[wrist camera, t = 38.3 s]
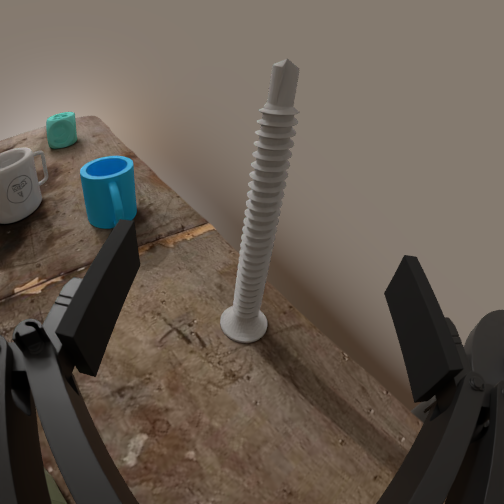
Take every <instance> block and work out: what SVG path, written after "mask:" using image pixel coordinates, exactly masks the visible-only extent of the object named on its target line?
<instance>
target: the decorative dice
mask: <svg viewBox="0 0 504 504" xmlns="http://www.w3.org/2000/svg"><path fill="white" fill-rule="evenodd" d="M46 128H47V138H48V144H49V147H51V148H53V149H60V148H64V147H68V146H70V145H72V144H74V143H75V142H76V141H77V134H76V122H75V113H73V112H65V113H60V114H56V115H53V116H51V117H49V118H48V119H47V122H46Z"/></svg>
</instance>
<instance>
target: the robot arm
mask: <svg viewBox="0 0 504 504" xmlns="http://www.w3.org/2000/svg"><path fill="white" fill-rule="evenodd" d="M139 267H140V259H139V253H138V246H137V238H136V230H135V222H134V221H131V220H122V219H120V220H119V221H118V223H117V224H116V226H115V227H114V229H113V230H112V232H111V233H110V235H109V237H108V238H107V240H106V241H105V243H104V244H103V246H102V248H101V249H100V251H99V253H98V254H97V256H96V258H95V259H94V261H93V263H92V264H91V266H90V268H89V269H88V271H87V273H86V275H85V276H84V278H83V279H81V278H75V277H73V278H72V279H71V280H70V281H69V282H67V283H66V284H65V285H64V287H63V289H62V290H61V292H60V294H59V296H58V297H57V299H56V301H55V304H53V306H52V308H51V310H50V312H49V314H48V315H47V317H46V319H45V321H44V323H43V325H41V323H40V322H39V321H37V320H36V319H26V320H24V321H22V322H20V323H19V324H18V325H17V326H16V327H15V329H14V332H13V338H12V340H13V341H14V342H11V343H8V342H7V341H6V340H5V338H4V337H2V336H1V335H0V504H52V502H51V498H50V494H49V490H48V486H47V481H46V477H45V472H44V467H43V461H42V455H41V449H40V442H39V435H38V427H37V417H36V409H37V412H38V415H39V418H40V421H41V424H42V427H43V430H44V433H45V435H46V438H47V441H48V443H49V446H50V448H51V451H52V453H53V456H54V458H55V460H56V463H57V465H58V467H59V470H60V472H61V474H62V476H63V478H64V480H65V483H66V485H67V487H68V489H69V491H70V493H71V495H72V497H73V498H74V500H75V502H76V504H139V503H138V502H137V500H136V498H135V497H134V495H133V494H132V492H131V491H130V489H129V488H128V486H127V484H126V483H125V481H124V479H123V478H122V476H121V474H120V473H119V471H118V469H117V467H116V466H115V464H114V462H113V460H112V458H111V456H110V455H109V453H108V451H107V449H106V447H105V445H104V443H103V441H102V439H101V437H100V435H99V433H98V431H97V429H96V427H95V425H94V423H93V420H92V418H91V416H90V414H89V412H88V409H87V407H86V405H85V402H84V400H83V398H82V395H81V393H80V390H79V388H78V385H77V383H76V380H75V377H74V375H73V374H72V372H73V369H74V367H75V366H76V368H77V369H78V371H79V372H80V373H83V374H87V375H90V376H94V377H96V375H97V372H98V369H99V366H100V364H101V361H102V358H103V355H104V352H105V350H106V347H107V344H108V342H109V339H110V337H111V334H112V331H113V329H114V326H115V324H116V321H117V319H118V316H119V314H120V311H121V309H122V306H123V304H124V302H125V299H126V297H127V294H128V292H129V290H130V287H131V285H132V283H133V281H134V278H135V276H136V274H137V271H138V269H139ZM384 294H385V297H386V300H387V303H388V306H389V310H390V313H391V316H392V319H393V322H394V326H395V329H396V333H397V336H398V340H399V343H400V346H401V350H402V354H403V358H404V362H405V366H406V370H407V374H408V378H409V382H410V386H411V390H412V395H413V398H414V402H415V403H416V402H424V401H428V400H429V399H431V398H432V397H433V396H434V395H436V399H437V400H436V401H435V402H434V403H433V404H431V405H430V406H429V407H428V408H426V409H425V411H424V413H426V412H427V411H429V410H430V412H429V414H428V416H427V418H426V420H425V422H424V424H423V426H422V428H421V430H420V432H419V434H418V436H417V438H416V440H415V442H414V444H413V445H412V447H411V449H410V451H409V453H408V454H407V456H406V458H405V460H404V461H403V463H402V465H401V467H400V468H399V470H398V472H397V473H396V475H395V476H394V478H393V480H392V481H391V483H390V484H389V486H388V487H387V489H386V490H385V492H384V493H383V495H382V496H381V498H380V499H379V501H378V502H377V503H376V504H443V502H444V500H445V498H446V497H447V498H446V502H445V504H504V380H501V381H500V382H498V383H497V384H496V385H492V384H488V383H485V381H484V379H483V377H482V376H481V375H480V374H479V373H477V372H475V371H472V369H471V366H470V363H469V360H468V358H467V355H466V352H465V350H464V347H463V345H462V342H461V339H460V337H459V334H458V332H457V329H456V327H455V325H454V324H453V323H452V321H451V320H450V319H449V318H445V317H444V315H443V313H442V310H441V308H440V306H439V304H438V301H437V299H436V297H435V295H434V292H433V290H432V288H431V286H430V284H429V282H428V279H427V277H426V275H425V273H424V271H423V269H422V267H421V265H420V263H419V261H418V259H417V257H414V256H407V255H404V257H403V259H402V261H401V263H400V265H399V267H398V269H397V271H396V272H395V275H394V276H393V278H392V280H391V282H390V284H389V285H388V287H387V289H386V291H385V293H384ZM488 420H489V426H487V427H486V422H487V421H488ZM447 494H448V495H447Z"/></svg>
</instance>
